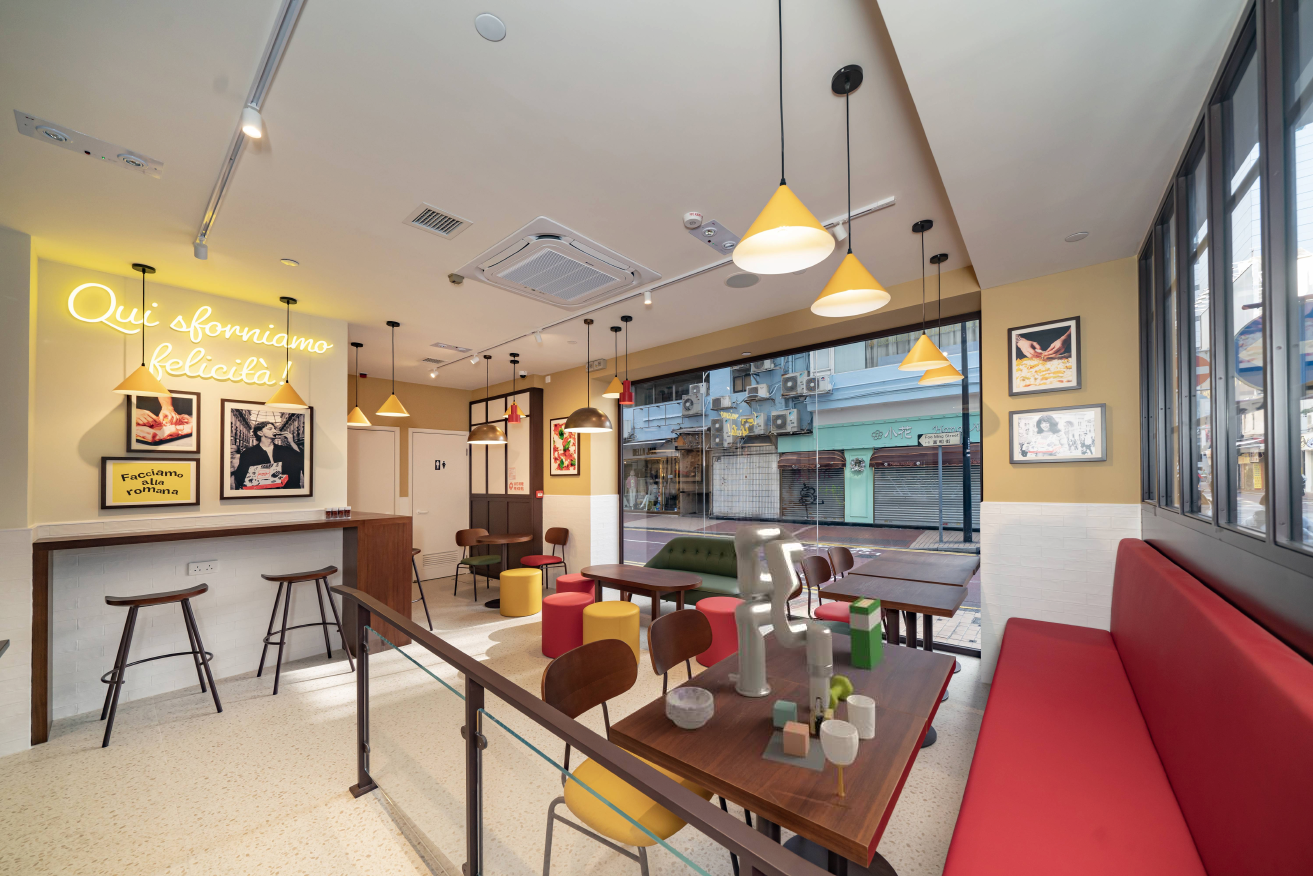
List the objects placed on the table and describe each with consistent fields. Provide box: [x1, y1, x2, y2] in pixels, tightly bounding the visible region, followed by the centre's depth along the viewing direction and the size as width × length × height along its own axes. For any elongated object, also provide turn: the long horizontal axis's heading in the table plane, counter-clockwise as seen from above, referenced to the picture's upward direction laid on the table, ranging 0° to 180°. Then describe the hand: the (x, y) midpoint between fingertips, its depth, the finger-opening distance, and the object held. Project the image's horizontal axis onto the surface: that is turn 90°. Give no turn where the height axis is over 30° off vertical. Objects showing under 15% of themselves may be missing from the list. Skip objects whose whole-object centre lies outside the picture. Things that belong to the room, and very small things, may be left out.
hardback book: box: [848, 596, 884, 671], centre depth 210 cm, size 18×7×24 cm, turn 142°
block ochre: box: [809, 708, 835, 735], centre depth 153 cm, size 6×6×6 cm
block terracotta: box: [782, 721, 810, 757], centre depth 142 cm, size 6×6×6 cm
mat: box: [761, 730, 827, 773], centre depth 142 cm, size 16×16×1 cm
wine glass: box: [819, 719, 860, 810], centre depth 123 cm, size 9×9×16 cm
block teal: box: [772, 699, 798, 729], centre depth 158 cm, size 6×6×6 cm
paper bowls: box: [665, 686, 715, 730], centre depth 161 cm, size 15×15×8 cm
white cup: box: [846, 694, 876, 740], centre depth 151 cm, size 8×8×10 cm
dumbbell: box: [828, 675, 854, 712], centre depth 171 cm, size 16×8×7 cm, turn 137°
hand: (822, 729), depth 153 cm, fingers closed on block ochre, 6 cm apart
